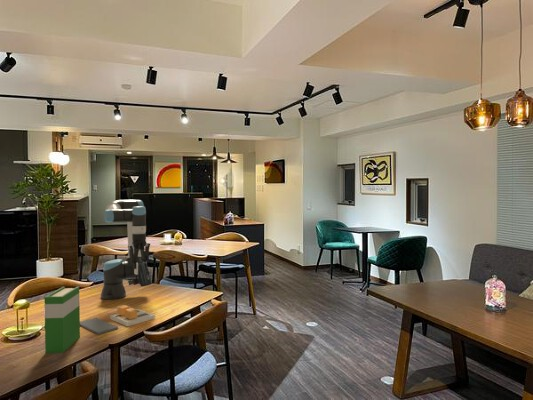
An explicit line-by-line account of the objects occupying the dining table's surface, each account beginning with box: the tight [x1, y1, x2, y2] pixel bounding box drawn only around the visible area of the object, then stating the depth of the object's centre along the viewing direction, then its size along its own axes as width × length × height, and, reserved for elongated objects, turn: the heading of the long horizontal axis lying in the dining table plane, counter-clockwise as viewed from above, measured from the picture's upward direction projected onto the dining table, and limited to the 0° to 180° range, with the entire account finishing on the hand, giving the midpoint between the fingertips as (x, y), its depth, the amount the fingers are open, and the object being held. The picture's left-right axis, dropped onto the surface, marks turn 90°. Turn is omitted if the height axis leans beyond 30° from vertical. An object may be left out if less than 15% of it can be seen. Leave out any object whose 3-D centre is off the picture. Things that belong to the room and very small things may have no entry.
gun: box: [127, 257, 153, 288], centre depth 229 cm, size 3×17×15 cm
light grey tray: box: [109, 308, 156, 327], centre depth 211 cm, size 17×16×2 cm
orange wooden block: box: [116, 304, 130, 316], centre depth 212 cm, size 5×4×4 cm
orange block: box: [125, 307, 137, 319], centre depth 206 cm, size 5×4×4 cm
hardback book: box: [44, 285, 81, 354], centre depth 176 cm, size 18×7×24 cm, turn 4°
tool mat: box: [80, 317, 119, 335], centre depth 200 cm, size 22×10×1 cm, turn 50°
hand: (139, 273), depth 229 cm, fingers closed on gun, 3 cm apart
